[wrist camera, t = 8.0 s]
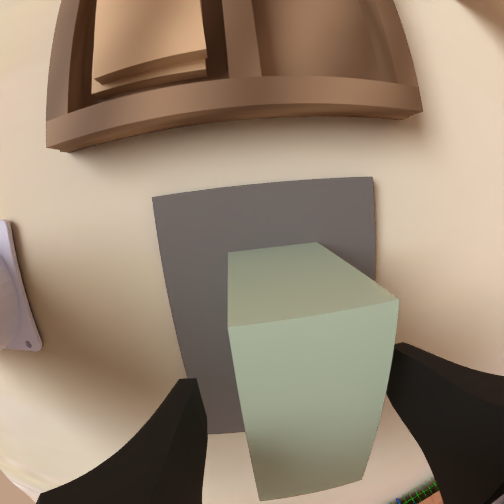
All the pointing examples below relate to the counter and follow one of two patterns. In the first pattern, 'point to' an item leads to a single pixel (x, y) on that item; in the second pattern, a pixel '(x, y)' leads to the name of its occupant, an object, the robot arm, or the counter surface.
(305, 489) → the pale green rectangular block
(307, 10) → the walnut rack
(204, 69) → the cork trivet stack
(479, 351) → the counter surface
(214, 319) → the charcoal mat
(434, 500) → the green-backed flat pad
